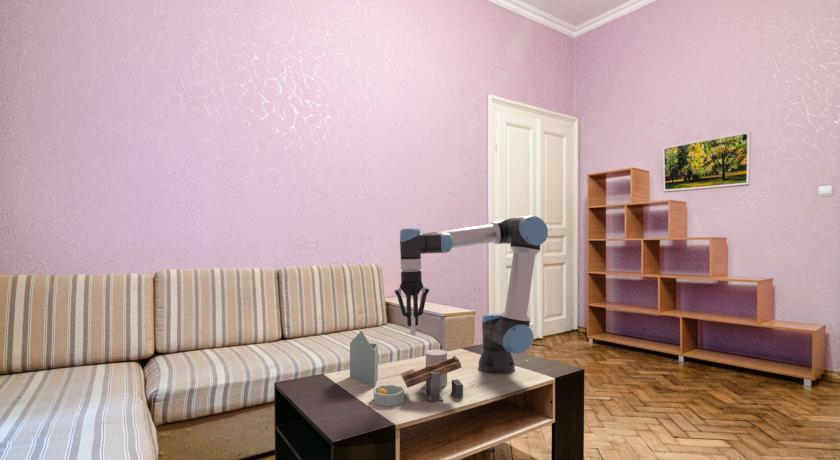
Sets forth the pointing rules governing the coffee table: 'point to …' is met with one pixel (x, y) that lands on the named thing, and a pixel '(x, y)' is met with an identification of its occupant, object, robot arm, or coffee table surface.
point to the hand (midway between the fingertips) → (413, 334)
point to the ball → (382, 391)
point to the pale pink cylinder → (437, 357)
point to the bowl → (389, 395)
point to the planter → (364, 360)
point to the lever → (425, 373)
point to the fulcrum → (433, 388)
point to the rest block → (457, 388)
